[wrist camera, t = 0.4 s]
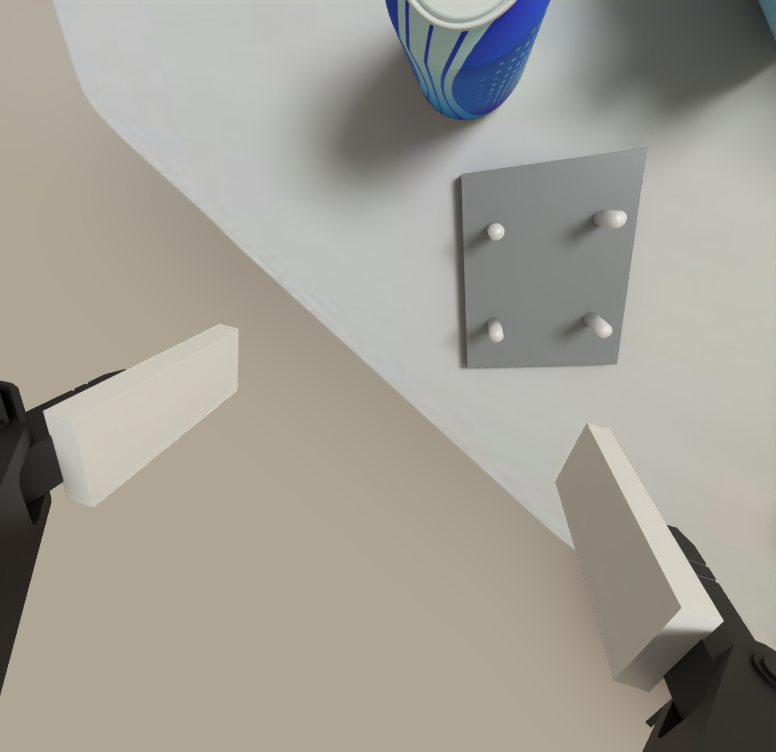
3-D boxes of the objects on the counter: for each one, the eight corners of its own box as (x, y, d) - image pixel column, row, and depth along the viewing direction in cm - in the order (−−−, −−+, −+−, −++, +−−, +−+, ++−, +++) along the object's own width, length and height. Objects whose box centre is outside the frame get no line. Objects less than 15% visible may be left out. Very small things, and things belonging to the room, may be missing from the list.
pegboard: (461, 175, 33) (459, 170, 28) (640, 149, 30) (671, 139, 25) (467, 363, 40) (466, 384, 35) (612, 359, 37) (632, 382, 32)
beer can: (485, 143, 32) (497, 92, 17) (400, 91, 31) (339, -3, 17) (550, 24, 28) (632, -165, 14) (453, -36, 28) (432, -293, 13)
